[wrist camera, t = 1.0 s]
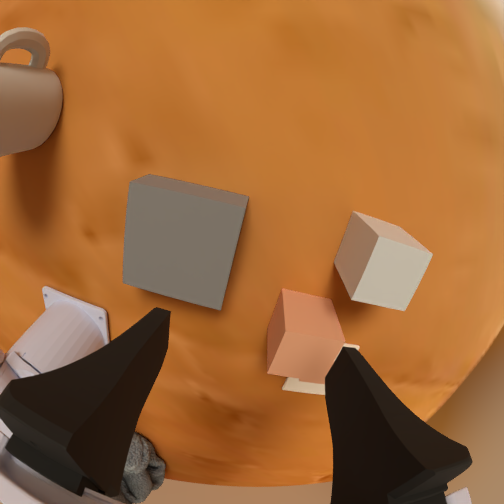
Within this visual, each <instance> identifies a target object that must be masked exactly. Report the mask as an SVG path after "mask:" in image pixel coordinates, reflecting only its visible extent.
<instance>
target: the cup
mask: <svg viewBox="0 0 504 504" xmlns="http://www.w3.org/2000/svg"><path fill="white" fill-rule="evenodd" d="M15 48H20V49H25V50H27V51H29V52H30V53H31V54H32V57H31V61H30V63H29V65H21V64H12V63H0V157H1V156H5V155H9V154H14V153H18V152H23V151H27V150H31V149H34V148H36V147H38V146H40V145H41V144H42V143H43V142H45V141H46V140H47V139H48V137H49V136H50V134H51V133H52V131H53V130H54V129H55V126H56V124H57V122H58V120H59V116H60V113H61V109H62V101H63V93H62V86H61V83H60V80H59V78H58V76H57V75H56V74H55V72H53V71H52V70H50V69H48V68H46V66H47V63H48V60H49V55H50V47H49V43H48V41H47V40H46V38H45V37H44V35H43V34H42V33H40V32H39V31H37V30H35V29H31V28H27V27H24V28H15V29H12V30H9V31H6V32H4V33H3V34H2V35H1V36H0V60H1V58H2V56H3V54H4V53H5V52H6V51H7V50H10V49H15Z"/></svg>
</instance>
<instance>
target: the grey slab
mask: <svg viewBox="0 0 504 504" xmlns="http://www.w3.org/2000/svg"><path fill="white" fill-rule="evenodd" d="M248 199H249V196H245V195H241V194H236V193H232V192H228V191H224V190H220V189H216V188H211V187H207V186H202V185H198V184H194V183H189V182H184V181H180V180H175V179H170V178H165V177H161V176H156V175H151V174H148V175H146V176H143V177H141V178H138V179H136V180H133V181H131V182H130V184H129V193H128V202H127V212H126V223H125V237H124V256H123V283H125V284H128V285H131V286H134V287H137V288H141V289H144V290H147V291H151V292H154V293H158V294H161V295H165V296H168V297H172V298H175V299H179V300H183V301H186V302H190V303H194V304H198V305H201V306H205V307H209V308H213V309H217V310H221V307H222V303H223V299H224V295H225V291H226V287H227V283H228V279H229V275H230V271H231V266H232V262H233V258H234V254H235V250H236V246H237V242H238V238H239V234H240V230H241V226H242V222H243V218H244V214H245V210H246V206H247V202H248Z"/></svg>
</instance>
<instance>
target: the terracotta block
mask: <svg viewBox="0 0 504 504" xmlns="http://www.w3.org/2000/svg"><path fill="white" fill-rule="evenodd" d="M344 343H345V339H344V335H343V332H342V329H341V326H340V323H339V320H338V317H337V314H336V312H335V309H334V306H333V303H332V300H331V299H328V298H323V297H319V296H314V295H310V294H305V293H301V292H296V291H292V290H288V289H283V288H282V290H281V293H280V296H279V298H278V301H277V304H276V307H275V310H274V312H273V315H272V318H271V321H270V323H269V326H268V329H267V374H273V375H279V376H285V377H292V378H299V379H306V380H314V381H322V379H323V378H324V376H325V375H326V373H327V372H328V370H329V368H330V367H331V365H332V363H333V362H334V360H335V358H336V357H337V355H338V353H339V352H340V350H341V348H342V347H343V345H344Z"/></svg>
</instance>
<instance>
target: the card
mask: <svg viewBox="0 0 504 504" xmlns="http://www.w3.org/2000/svg"><path fill="white" fill-rule="evenodd" d="M343 346H344V347H352V348H356V349H357V350H358V349H359V348H360V347H359V345H352V344H346V343H344V345H343ZM341 349H342V348H341ZM340 351H341V350H340ZM339 353H340V352H339ZM339 353H338V354H339ZM337 356H338V355H337ZM336 358H337V357H336ZM336 358H335V360H336ZM335 360H334V361H335ZM333 363H334V362H333ZM333 363H332V365H333ZM332 365H331V366H332ZM330 368H331V367H330ZM330 368H329V370H330ZM329 370H328V372H329ZM328 372H327V373H328ZM327 373H326V375H327ZM326 375H325V376H326ZM325 376H324V378H323V379H322V381H314V380H306V379H299V378H292V377H287V379H286V381H285V383H284V385H283V386H282V390H288V391H295V392H303V393H311V394H321V395H325Z"/></svg>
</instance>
